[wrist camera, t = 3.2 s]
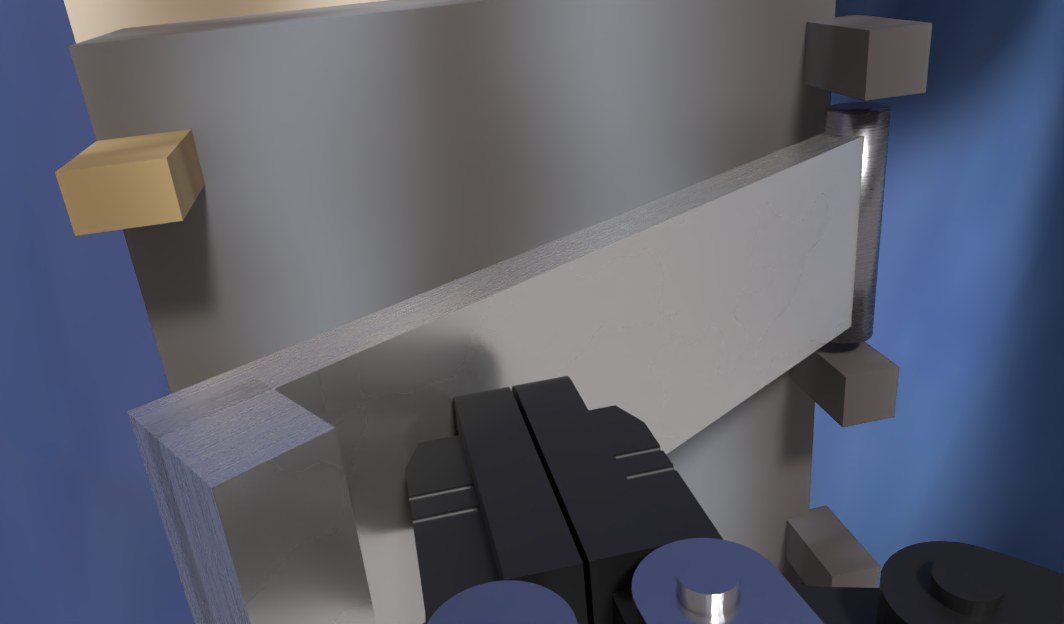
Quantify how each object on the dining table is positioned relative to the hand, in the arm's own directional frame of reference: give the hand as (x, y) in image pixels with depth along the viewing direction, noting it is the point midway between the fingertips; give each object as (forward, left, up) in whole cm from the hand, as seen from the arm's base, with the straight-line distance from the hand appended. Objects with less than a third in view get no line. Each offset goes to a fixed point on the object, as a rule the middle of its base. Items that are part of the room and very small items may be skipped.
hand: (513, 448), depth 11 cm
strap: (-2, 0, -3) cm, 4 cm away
